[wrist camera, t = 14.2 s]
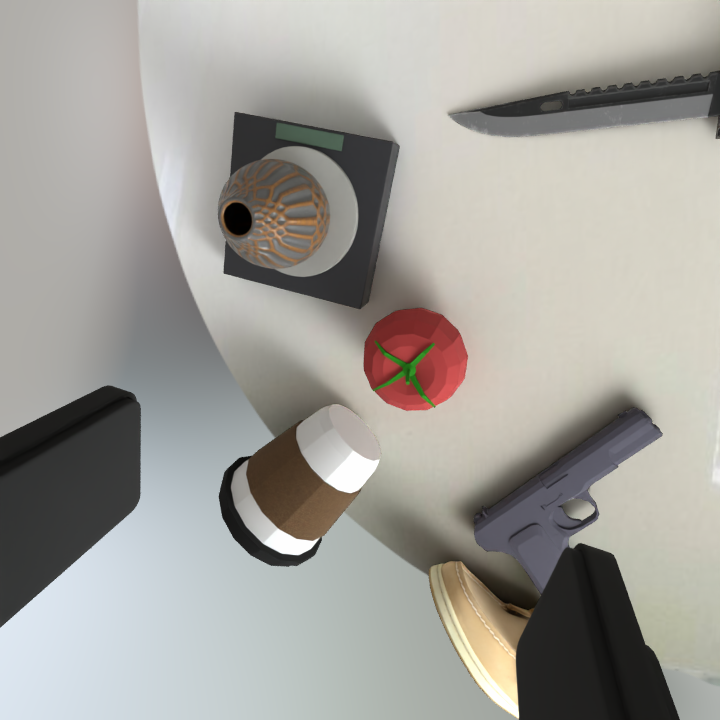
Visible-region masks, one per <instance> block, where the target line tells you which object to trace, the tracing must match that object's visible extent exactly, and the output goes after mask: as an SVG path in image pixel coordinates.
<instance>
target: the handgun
mask: <svg viewBox="0 0 720 720" xmlns="http://www.w3.org/2000/svg"><path fill="white" fill-rule="evenodd" d="M618 416H619V418H618V419H616V420H615V421H613V422H612V423H610V424H609V425H608V426H606V427H605V428H603V429H602V430H601V431H599V432H598V433H596V434H595V435H593V436H592V437H591V438H589V439H588V440H586V441H585V442H584V443H582V444H581V445H579V446H578V447H576V448H575V449H574V450H572V451H571V452H569V453H568V454H566V455H565V456H564V457H562V458H561V459H559V460H558V461H557V462H555V463H554V464H552V465H551V466H549V467H548V468H547V469H545V470H544V471H542V472H541V473H539V474H538V475H537V476H535V477H534V478H532V479H531V480H530V481H528V482H527V483H525V484H524V485H522V486H521V487H520V488H518V489H517V490H515V491H514V492H512V493H511V494H510V495H508V496H507V497H505V498H504V499H503V500H501V501H500V502H498V503H497V504H495V505H494V506H493V507H491V508H490V509H488V508H486V507H485V506H482V509H483V510H482V513H483V514H481V513H477V514H476V515H475V516H474V523H475V530H474V536H475V540H476V542H477V544H478V545H479V546H481V547H482V548H483V549H484V550H485V551H495V552H503V553H507V554H510V555H512V556H513V557H514V558H515V559H517V560H518V562H519V563H520V564H521V565H522V567H523V568H524V570H525V571H526V573H527V574H528V576H529V577H530V579H531V580H532V582H533V583H534V585H535V586H536V588H537V589H538V591H539V592H540V594H542V592H543V590H544V588H545V586H546V584H547V582H548V580H549V578H550V576H551V574H552V572H553V570H554V568H555V566H556V564H557V562H558V560H559V558H560V556H561V554H562V552H563V550H564V549H565V548H566V547H569V546H568V541H569V537H570V536H572V535H574V534H575V533H577V532H578V531H580V530H582V529H583V528H585V527H587V526H588V525H590V524H592V523H593V522H595V521H596V520H597V519H598V516H599V512H598V509H597V505H596V502H595V501H594V500H593V499H592V497H591V496H590V495H589V492H588V488H589V487H590V486H591V485H592V484H593V483H595V482H596V481H598V480H599V479H601V478H602V477H604V476H606V475H607V474H609V473H610V472H612V471H613V470H615V469H616V468H618V464H620V463H621V462H623V461H625V460H626V459H628V458H629V457H631V456H632V455H634V454H635V453H637V452H638V451H640V450H641V449H643V448H644V447H646V446H647V445H649V444H651V443H652V442H654V441H655V440H657V439H658V438H660V437H661V436H662V434H663V433H662V432H661V431H660V429H659V428H658V427H657V426H656V425H655V424H653V423H652V419H651V418H650V417H649V416H648V415H647V414H646V413H645V412H644V411H643V410H638V409H637V408H634V407H633V408H632V409H630V410H629V411H628V412H626V411H624V412H622V413H620V414H619V415H618ZM572 498H576V499H582V500H585V501H588V502H590V503H591V504H592V505H593V506H594V507H595V512H594V513H593V514H592V515H591V516H589V517H587V518H586V519H584V520H582V521H581V520H579V519H573V518H570V517H569V516H567V515H566V514H565V512H564V511H563V508H562V506H560V505H562V504H563V503H565V502H567V501H569V500H570V499H572ZM569 548H570V547H569Z"/></svg>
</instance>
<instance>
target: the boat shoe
mask: <svg viewBox="0 0 720 720" xmlns="http://www.w3.org/2000/svg"><path fill="white" fill-rule="evenodd" d="M429 582H430V589H431V593H432V596H433V600H434V603H435V606H436V609H437V612H438V614H439V617H440V619H441V621H442V623H443V626H444V628H445V630H446V632H447V634H448V636H449V638H450V640H451V642H452V644H453V646H454V648H455V650H456V652H457V654H458V655H459V657H460V659H461V661H462V662H463V664H464V665H465V667H466V668H467V670H468V672H469V674H470V675H471V677H472V678H473V679H474V681H475V682H476V684H477V685H478V686H479V687H480V689H482V691H483V692H484V693H485V694H486V695H487V696H488V697H489V698H490V699H491V700H492V701H493V702H494V703H496V704H497V705H498V706H500V707H501V708H503V709H504V710H505V711H506V712H508V713H510V714H511V715H513V716H515V717H516V718H517V719H519V712H518V694H517V676H516V650H517V645H518V641H519V639H520V637H521V635H522V633H523V631H524V629H525V627H526V625H527V623H528V621H529V619H530V617H531V615H532V613H533V610H534V608H532V609H530V610H529V611H528V610H524V609H522V608H519V607H517V606H514V605H512V604H511V603H509V604H506V603H503V602H502V601H501V600H500V599H498V598H497V597H496V596H495V595H494V594H493V593H492V592H491V591H490V590H489V589H488V588H487V587H486V586H485V585H484V584H483V583H482V582H481V581H480V580H479V579H478V578H477V577H476V576H474V575H473V574H472V573H471V572H470V571H469V570H468V569H467V568H466V567H465V565H464V564H463V563H462V562H461V561H458V562H454V561H450V562H447V563H445V564H442V563H441V564H438V565H434V566H432V567H431V568H430V569H429Z"/></svg>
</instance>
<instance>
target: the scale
mask: <svg viewBox="0 0 720 720" xmlns="http://www.w3.org/2000/svg"><path fill="white" fill-rule="evenodd" d="M399 147H400V146H399V145H397V144H396V143H394V142H392V141H386V140H381V139H376V138H371V137H365V136H360V135H355V134H349V133H344V132H339V131H334V130H328V129H323V128H318V127H313V126H307V125H302V124H297V123H292V122H286V121H281V120H276V119H270V118H265V117H260V116H255V115H249V114H244V113H239V112H235V116H234V130H233V145H232V159H231V173H230V177H231V176H232V175H233V174H234V173H235V172H236V171H238V170H239V169H240V168H242V167H243V166H245V165H247V164H249V163H252V162H254V161H258V160H263V159H280V160H284V161H288V162H291V163H294V164H296V165H299V166H300V167H302V168H304V169H305V170H307V171H308V172H309V173H310V174H311V175H312V176H314V177H315V179H316V180H317V181H318V182H319V183H320V185H321V186H322V188H323V190H324V192H325V194H326V197H327V199H328V203H329V207H330V225H329V229H328V233H327V236H326V238H325V240H324V242H323V244H322V245H321V247H320V248H319V249H318V251H317V252H316V253H315V254H314V255H313V256H311V257H310V258H309V259H307V260H306V261H304V262H302V263H300V264H298V265H295V266H292V267H288V268H283V269H271V268H265V267H261V266H258V265H255V264H252V263H250V262H248V261H247V260H245V259H243V258H242V257H241V256H239V255H238V254H237V253H236V252H235V251H234V250H233V249H232V248H231V247H230V245H229V244H228V243H227V241H226V245H225V259H224V274H228V275H231V276H235V277H239V278H243V279H247V280H251V281H254V282H258V283H262V284H266V285H270V286H273V287H277V288H281V289H285V290H289V291H293V292H296V293H300V294H304V295H308V296H312V297H315V298H319V299H323V300H327V301H331V302H335V303H338V304H342V305H346V306H350V307H354V308H357V309H361V308H362V307H363V306H365V305H366V304H367V303H368V301H369V296H370V291H371V286H372V281H373V276H374V271H375V266H376V261H377V256H378V251H379V246H380V241H381V236H382V231H383V226H384V221H385V217H386V212H387V207H388V202H389V197H390V192H391V187H392V182H393V177H394V172H395V167H396V162H397V157H398V152H399Z"/></svg>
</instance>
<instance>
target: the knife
mask: <svg viewBox="0 0 720 720" xmlns="http://www.w3.org/2000/svg"><path fill="white" fill-rule="evenodd" d="M553 101H561V102H562V107H561V108H560V109H559V110H552V111H542V110H541V108H540V107H541V105H542V104H543V103H545V102H553ZM449 116H450V117H451V118H452V119H453V120H455V121H456V122H457V123H459V124H461V125H463V126H464V127H466V128H468V129H471V130H474V131H477V132H479V133H484V134H488V135H494V136H504V137H518V136H536V135H546V134H556V133H566V132H575V131H584V130H593V129H602V128H612V127H621V126H630V125H639V124H649V123H658V122H667V121H676V120H685V119H695V118H704V117H714V116H718V124H717V132H716V139H720V71H716V72H710V73H709V75H708V76H707V77H702V75H701V74H693V75H692V76H691V77H690V79H688V80H686V79H685V78H684V77H683V76H678V77H675V78H674V79H673V80H672V81H671V82H668V81H667V79H666V78H663V79H658V80H657V81H656V83H654V84H650V82H649V80H648V81H641V82H640V84H639V85H638V86H634V85H633V83H626V84H624V85H623V87H622V88H617V86H616V85H611V86H608V87H607V89H606V90H604V91H603V90H601V88H600V87H596V88H592V90H591V91H590V92H588V93H587V92H586V91H585V89H581V90H577V91H576V93H575V94H573V95H572V94H570V92H569V91H566V92H560V93H555V94H550V95H545V96H540V97H535V98H530V99H525V100H520V101H515V102H510V103H505V104H500V105H495V106H490V107H485V108H480V109H475V110H470V111H465V112H460V113H455V114H450V115H449Z"/></svg>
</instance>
